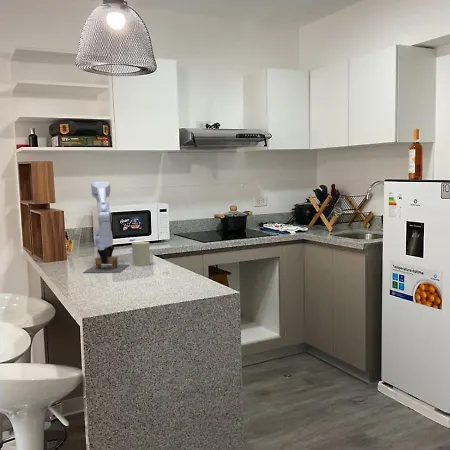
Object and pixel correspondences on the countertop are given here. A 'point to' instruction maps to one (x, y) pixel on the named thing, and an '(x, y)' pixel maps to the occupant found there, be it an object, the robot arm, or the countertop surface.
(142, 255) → the can
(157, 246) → the countertop surface
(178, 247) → the countertop surface
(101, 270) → the mat
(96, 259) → the stool
